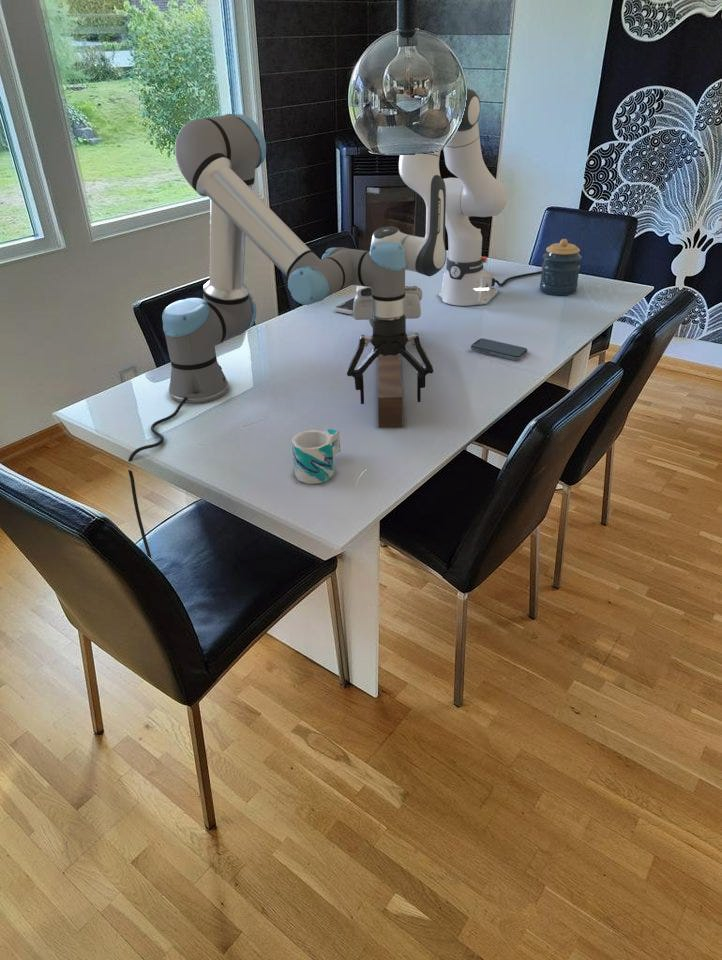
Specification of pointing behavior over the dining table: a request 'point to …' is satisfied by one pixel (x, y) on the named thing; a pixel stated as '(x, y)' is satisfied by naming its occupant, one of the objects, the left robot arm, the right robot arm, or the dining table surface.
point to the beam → (389, 391)
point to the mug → (315, 455)
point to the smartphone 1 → (345, 307)
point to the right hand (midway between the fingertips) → (387, 332)
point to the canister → (560, 269)
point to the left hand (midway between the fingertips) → (390, 400)
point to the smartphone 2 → (499, 349)
